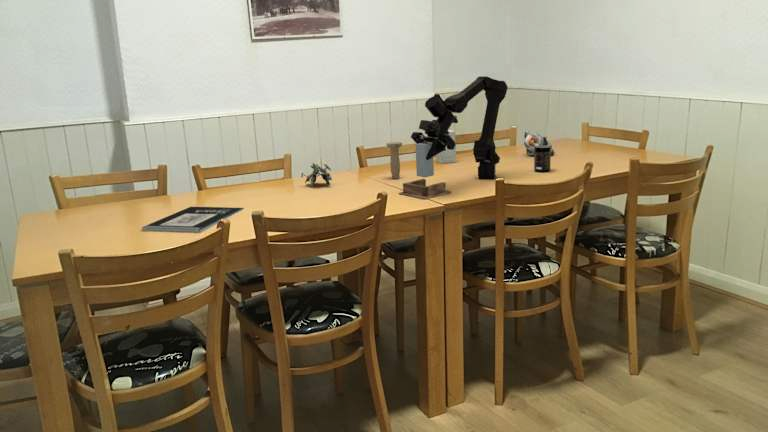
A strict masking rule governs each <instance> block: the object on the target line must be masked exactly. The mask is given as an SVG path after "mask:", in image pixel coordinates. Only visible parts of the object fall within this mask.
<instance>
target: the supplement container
mask: <svg viewBox="0 0 768 432" xmlns="http://www.w3.org/2000/svg"><path fill="white" fill-rule="evenodd" d="M533 156H534V159H533V160H534V161H533V162H534V164H533V166H534V167H533V170H534V172H536V173H548V172H550V171H551V157H552V156H551V146H546V145H540V146H535V147H534V155H533Z"/></svg>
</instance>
